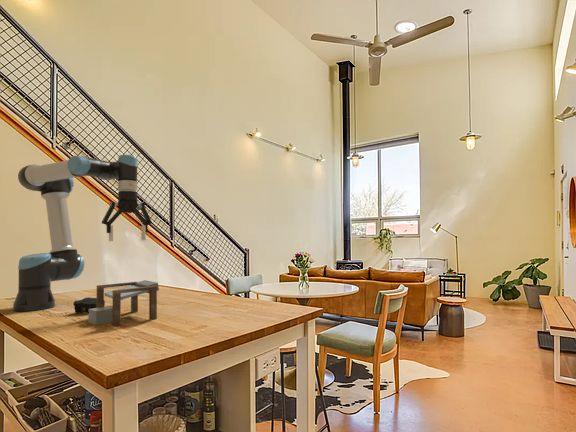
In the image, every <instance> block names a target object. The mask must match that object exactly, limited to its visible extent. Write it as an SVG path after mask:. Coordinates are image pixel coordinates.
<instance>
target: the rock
mask: <svg viewBox="0 0 576 432" xmlns="http://www.w3.org/2000/svg"><path fill="white" fill-rule="evenodd" d="M96 304H97V297H85V298H82V299H79V300H75V301H73V307H74V313H76V314H84V313H83V312H89V309H92V308H96ZM105 304H106V301H105V300H104V307H105Z"/></svg>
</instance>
